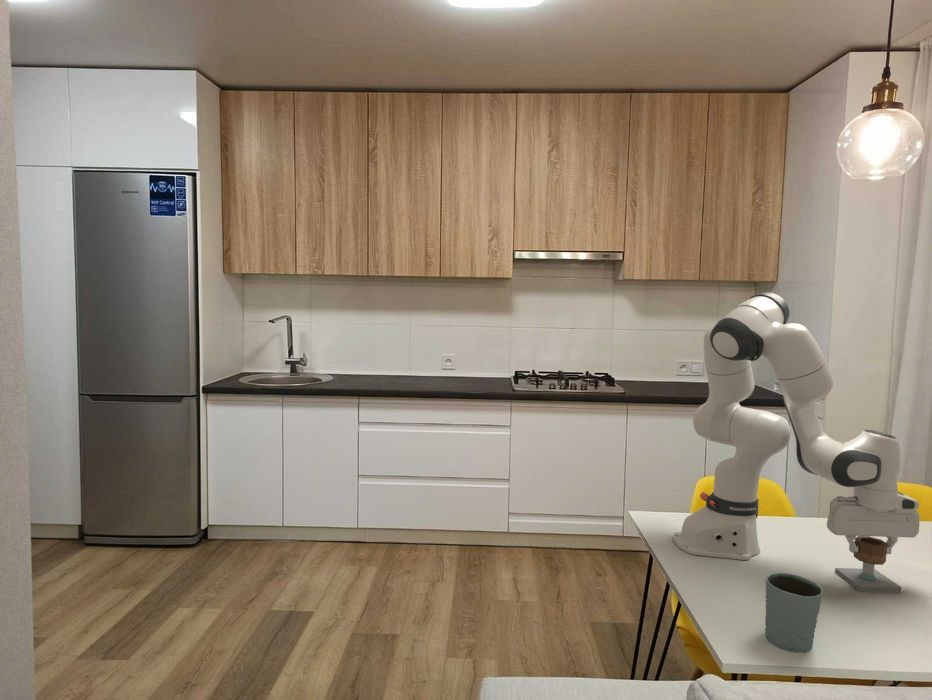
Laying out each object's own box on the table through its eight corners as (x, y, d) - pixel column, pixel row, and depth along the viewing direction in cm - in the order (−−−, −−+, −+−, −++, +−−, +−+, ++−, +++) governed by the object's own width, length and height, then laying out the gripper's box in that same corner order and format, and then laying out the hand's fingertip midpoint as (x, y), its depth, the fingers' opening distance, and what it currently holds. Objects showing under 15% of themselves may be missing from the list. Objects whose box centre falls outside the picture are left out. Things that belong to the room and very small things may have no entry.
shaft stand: (859, 591, 150) (861, 562, 150) (834, 572, 160) (837, 545, 160) (901, 592, 150) (904, 563, 150) (874, 573, 160) (877, 546, 160)
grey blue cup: (753, 626, 133) (757, 571, 132) (802, 628, 132) (807, 573, 131) (775, 654, 123) (780, 594, 122) (828, 656, 122) (833, 597, 121)
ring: (864, 564, 151) (865, 546, 151) (849, 553, 158) (850, 535, 157) (890, 565, 151) (892, 546, 151) (874, 554, 157) (876, 536, 157)
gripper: (838, 500, 150) (833, 556, 151) (926, 503, 149) (920, 559, 151) (824, 491, 156) (819, 545, 158) (908, 494, 156) (903, 548, 157)
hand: (869, 552), depth 154 cm, fingers closed on ring, 6 cm apart
